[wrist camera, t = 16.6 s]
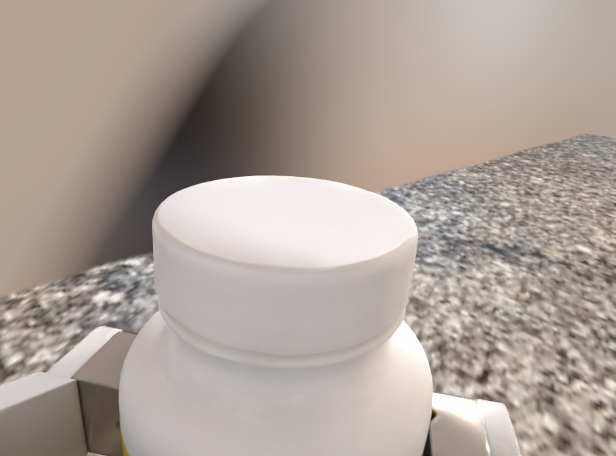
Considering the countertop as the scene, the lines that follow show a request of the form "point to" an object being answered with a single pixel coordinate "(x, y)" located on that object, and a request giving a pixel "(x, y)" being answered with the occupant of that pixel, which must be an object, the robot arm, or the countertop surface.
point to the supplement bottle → (278, 326)
